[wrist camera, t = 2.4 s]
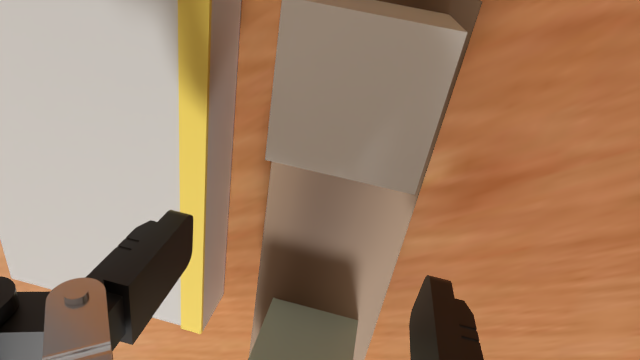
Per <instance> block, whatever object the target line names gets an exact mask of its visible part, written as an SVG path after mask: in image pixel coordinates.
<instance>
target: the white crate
mask: <svg viewBox="0 0 640 360" xmlns="http://www.w3.org/2000/svg"><path fill="white" fill-rule="evenodd" d="M466 36H467V31H466V30H465V29H464V28H462V27H461V26H460V25H459V24H458V23H457V22H456V21H455V20H454V19H453V18H452V17H451V16H450V15H449V14H444V13H439V12H434V11H429V10H423V9H418V8H413V7H408V6H403V5H398V4H392V3H387V2H382V1H377V0H282V5H281V14H280V24H279V33H278V42H277V52H276V61H275V71H274V80H273V90H272V99H271V108H270V118H269V127H268V137H267V146H266V156H265V160H268V161H272V162H276V163H281V164H285V165H289V166H294V167H298V168H302V169H306V170H311V171H315V172H319V173H323V174H328V175H332V176H336V177H341V178H345V179H349V180H353V181H358V182H362V183H366V184H370V185H375V186H379V187H383V188H388V189H392V190H396V191H400V192H405V193H409V194H413V195H415V193H416V190H417V187H418V184H419V180H420V177H421V174H422V171H423V168H424V165H425V162H426V159H427V156H428V153H429V150H430V147H431V143H432V140H433V137H434V134H435V131H436V128H437V125H438V122H439V119H440V116H441V113H442V110H443V106H444V103H445V100H446V97H447V94H448V91H449V88H450V85H451V82H452V79H453V76H454V73H455V69H456V66H457V63H458V60H459V57H460V54H461V51H462V48H463V45H464V42H465V39H466Z"/></svg>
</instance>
